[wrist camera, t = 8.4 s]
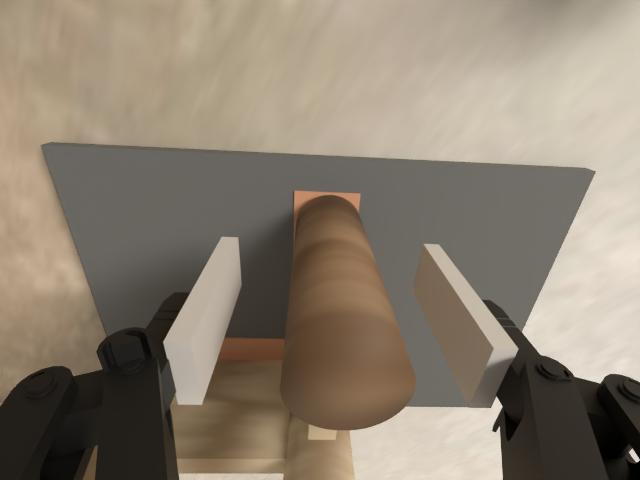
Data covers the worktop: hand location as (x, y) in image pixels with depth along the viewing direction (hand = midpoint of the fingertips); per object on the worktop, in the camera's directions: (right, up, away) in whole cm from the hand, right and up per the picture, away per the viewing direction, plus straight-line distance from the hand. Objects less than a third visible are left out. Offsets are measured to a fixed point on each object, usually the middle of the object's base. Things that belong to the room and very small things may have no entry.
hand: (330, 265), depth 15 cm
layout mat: (0, -4, +8) cm, 9 cm away
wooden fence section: (0, -1, +6) cm, 6 cm away
